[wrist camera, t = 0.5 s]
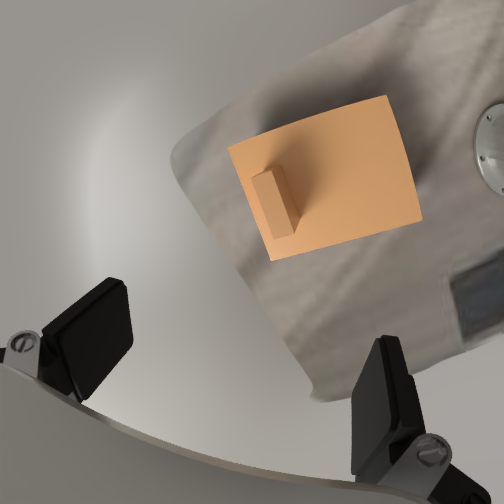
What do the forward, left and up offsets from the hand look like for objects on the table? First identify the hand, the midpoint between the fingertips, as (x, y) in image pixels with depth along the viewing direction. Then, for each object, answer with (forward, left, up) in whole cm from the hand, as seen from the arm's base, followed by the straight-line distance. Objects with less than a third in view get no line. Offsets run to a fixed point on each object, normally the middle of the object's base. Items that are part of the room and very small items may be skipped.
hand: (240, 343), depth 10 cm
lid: (-3, -1, -25) cm, 25 cm away
